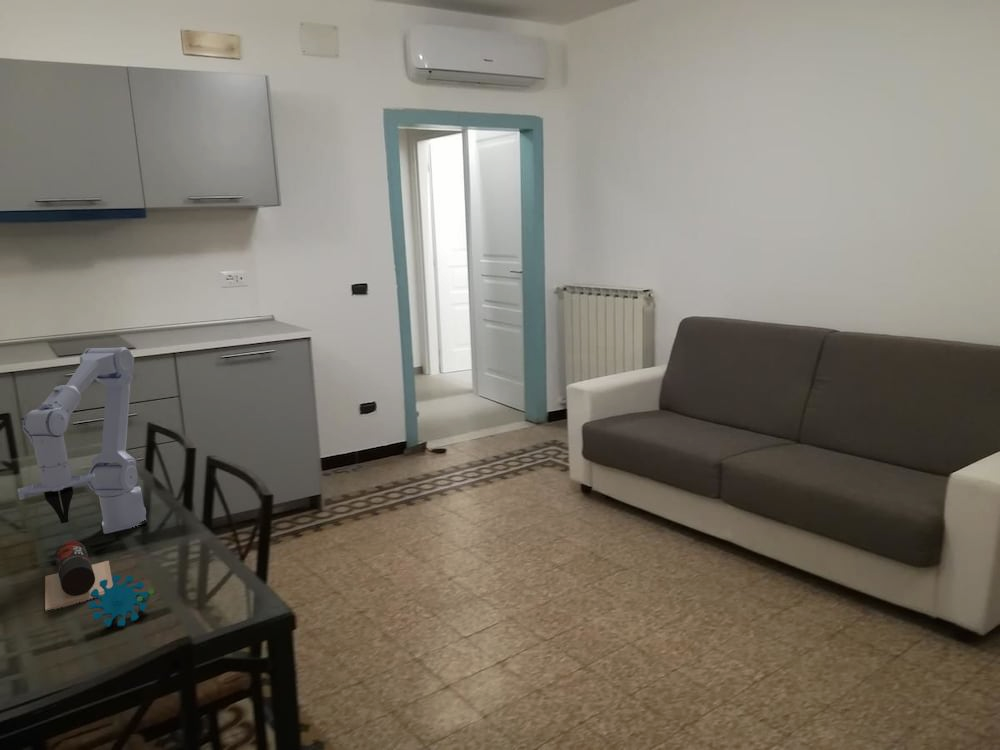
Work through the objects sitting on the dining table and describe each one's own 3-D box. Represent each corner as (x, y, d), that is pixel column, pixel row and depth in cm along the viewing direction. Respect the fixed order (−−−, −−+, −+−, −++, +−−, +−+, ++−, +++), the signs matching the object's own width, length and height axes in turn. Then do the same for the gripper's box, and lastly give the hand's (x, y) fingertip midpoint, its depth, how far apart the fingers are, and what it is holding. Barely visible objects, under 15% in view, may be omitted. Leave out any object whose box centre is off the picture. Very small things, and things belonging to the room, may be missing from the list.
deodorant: (55, 570, 157) (61, 598, 145) (54, 543, 156) (60, 570, 144) (86, 564, 161) (95, 592, 149) (85, 539, 160) (94, 564, 148)
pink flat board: (109, 562, 162) (108, 560, 162) (114, 593, 148) (114, 590, 148) (45, 578, 156) (45, 575, 156) (45, 611, 143) (45, 609, 142)
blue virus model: (91, 630, 132) (86, 577, 137) (89, 641, 136) (85, 590, 141) (157, 617, 139) (151, 567, 143) (154, 628, 143) (148, 579, 147)
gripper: (12, 476, 152) (25, 536, 155) (92, 460, 159) (102, 518, 162) (13, 466, 158) (26, 525, 161) (90, 452, 165) (100, 508, 168)
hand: (64, 521), depth 162 cm, fingers closed
